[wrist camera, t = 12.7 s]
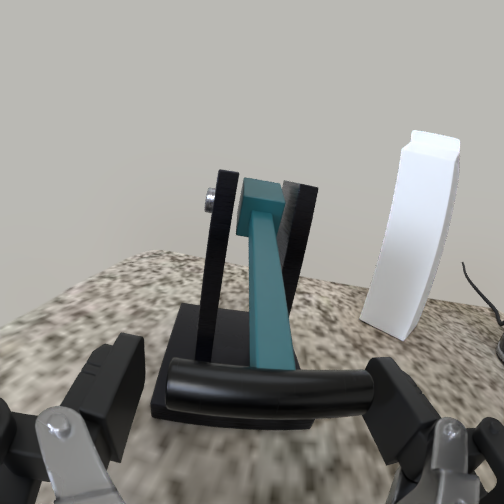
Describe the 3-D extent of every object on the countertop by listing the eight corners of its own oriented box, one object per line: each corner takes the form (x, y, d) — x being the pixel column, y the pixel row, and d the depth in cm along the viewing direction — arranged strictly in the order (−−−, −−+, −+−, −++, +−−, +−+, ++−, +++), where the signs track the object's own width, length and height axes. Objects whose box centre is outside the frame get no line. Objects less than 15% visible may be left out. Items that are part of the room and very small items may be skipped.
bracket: (310, 429, 14) (391, 206, 10) (151, 417, 12) (158, 161, 9) (279, 327, 25) (311, 185, 22) (180, 314, 24) (197, 166, 20)
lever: (349, 427, 7) (390, 393, 6) (168, 422, 6) (160, 386, 5) (296, 222, 18) (306, 188, 17) (211, 208, 17) (216, 172, 16)
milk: (403, 342, 25) (458, 130, 19) (357, 319, 29) (404, 120, 23) (416, 325, 29) (463, 147, 23) (377, 306, 33) (417, 137, 27)
